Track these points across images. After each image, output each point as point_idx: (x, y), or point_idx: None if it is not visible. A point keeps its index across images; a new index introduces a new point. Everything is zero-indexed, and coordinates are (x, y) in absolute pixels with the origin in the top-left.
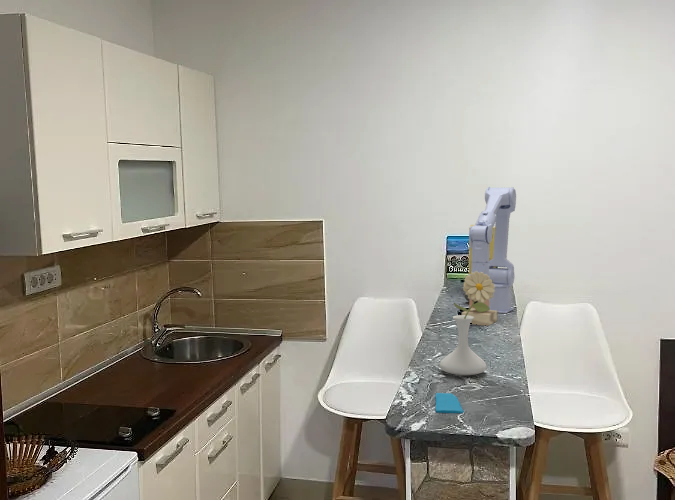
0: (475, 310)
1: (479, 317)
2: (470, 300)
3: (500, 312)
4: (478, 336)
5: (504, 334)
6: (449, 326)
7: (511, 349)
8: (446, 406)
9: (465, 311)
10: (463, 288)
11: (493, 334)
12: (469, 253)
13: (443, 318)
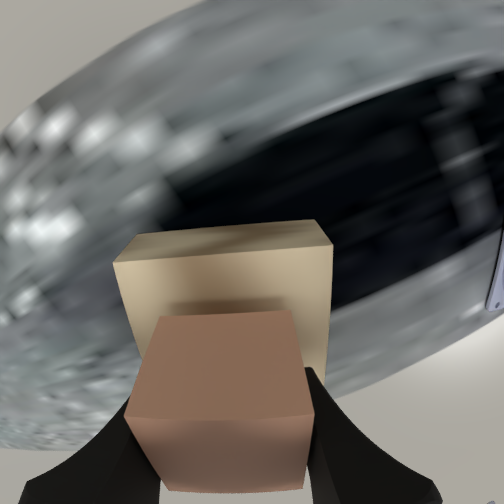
0: (252, 309)
1: None
2: (146, 366)
3: (492, 288)
4: (12, 378)
5: (92, 430)
6: (30, 223)
7: (9, 442)
8: None
9: (165, 268)
10: None
11: (65, 408)
12: None
13: (207, 57)
